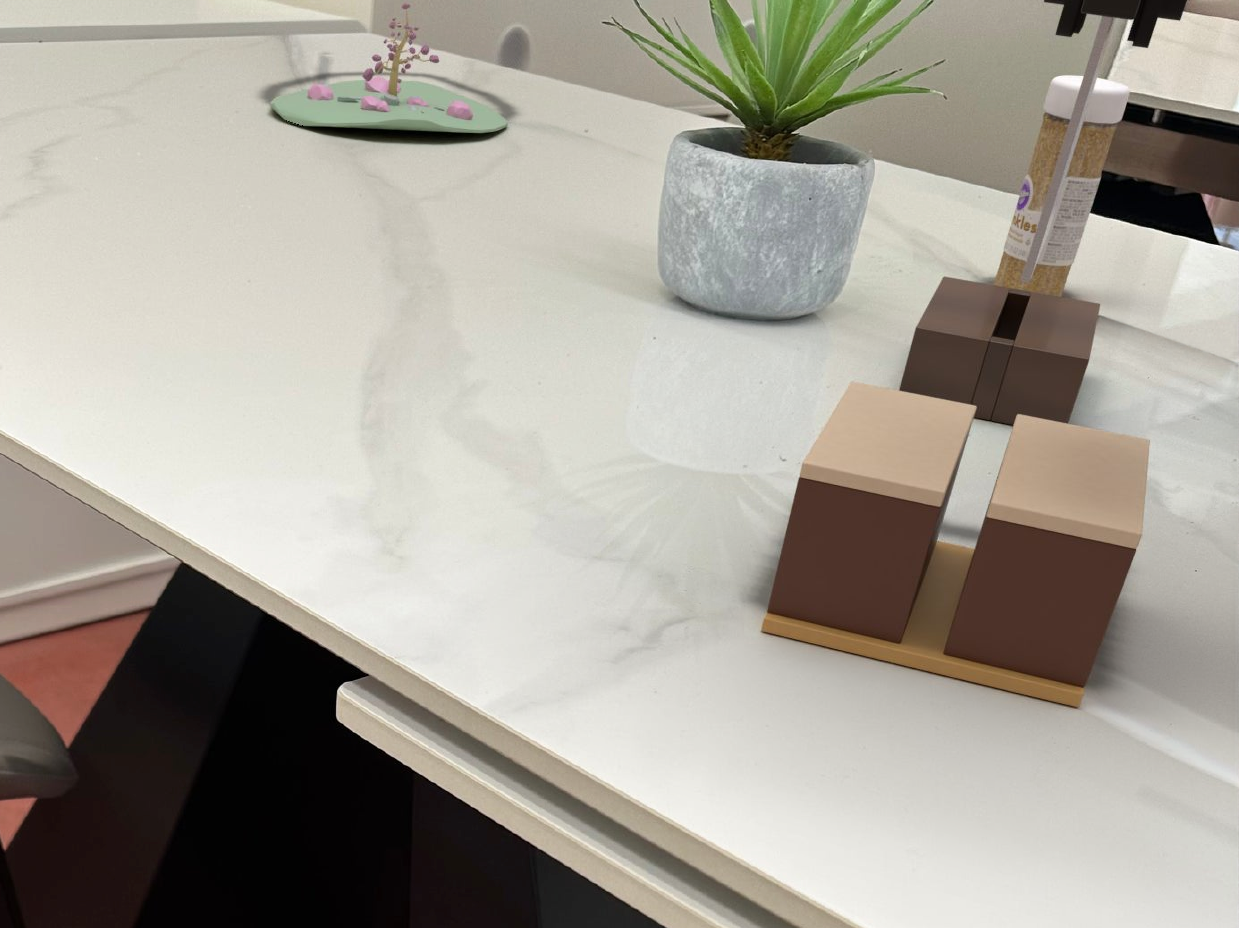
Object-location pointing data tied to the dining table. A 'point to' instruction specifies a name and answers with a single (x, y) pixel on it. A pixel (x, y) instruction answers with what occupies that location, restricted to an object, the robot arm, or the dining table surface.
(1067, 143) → the slim kitchen knife
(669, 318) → the dining table surface
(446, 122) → the plant
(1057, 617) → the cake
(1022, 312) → the knife block
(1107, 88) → the sprinkles bottle
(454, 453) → the dining table surface
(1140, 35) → the robot arm
